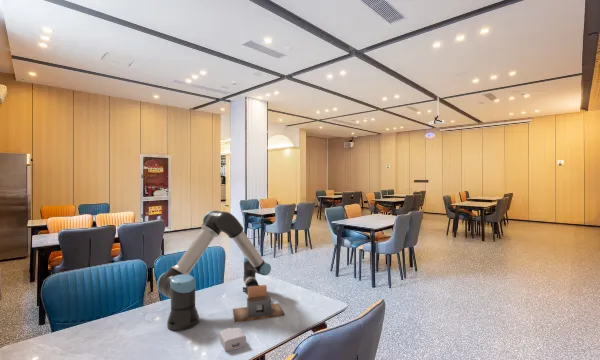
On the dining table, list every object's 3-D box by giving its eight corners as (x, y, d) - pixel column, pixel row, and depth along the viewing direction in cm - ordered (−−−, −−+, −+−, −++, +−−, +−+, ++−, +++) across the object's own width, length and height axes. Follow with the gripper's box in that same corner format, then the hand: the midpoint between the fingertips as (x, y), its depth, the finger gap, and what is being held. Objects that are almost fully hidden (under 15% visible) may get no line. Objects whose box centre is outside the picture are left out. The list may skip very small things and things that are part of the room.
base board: (234, 322, 156) (234, 319, 156) (232, 311, 169) (232, 308, 169) (284, 315, 163) (284, 313, 163) (278, 305, 177) (278, 303, 177)
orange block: (249, 315, 160) (249, 292, 160) (248, 308, 169) (247, 286, 169) (268, 312, 163) (268, 290, 163) (266, 306, 172) (265, 284, 172)
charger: (236, 331, 147) (246, 346, 134) (216, 336, 143) (225, 352, 130) (236, 321, 147) (246, 335, 134) (216, 326, 143) (224, 341, 130)
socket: (248, 317, 158) (248, 302, 158) (247, 313, 164) (246, 298, 164) (271, 314, 161) (271, 299, 161) (269, 310, 167) (269, 295, 167)
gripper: (262, 289, 195) (268, 303, 172) (241, 291, 191) (245, 306, 169) (261, 277, 195) (268, 290, 172) (241, 279, 191) (245, 292, 169)
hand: (257, 298), depth 170 cm, fingers closed
